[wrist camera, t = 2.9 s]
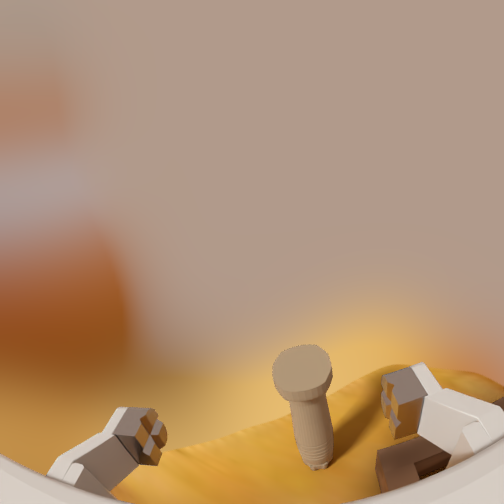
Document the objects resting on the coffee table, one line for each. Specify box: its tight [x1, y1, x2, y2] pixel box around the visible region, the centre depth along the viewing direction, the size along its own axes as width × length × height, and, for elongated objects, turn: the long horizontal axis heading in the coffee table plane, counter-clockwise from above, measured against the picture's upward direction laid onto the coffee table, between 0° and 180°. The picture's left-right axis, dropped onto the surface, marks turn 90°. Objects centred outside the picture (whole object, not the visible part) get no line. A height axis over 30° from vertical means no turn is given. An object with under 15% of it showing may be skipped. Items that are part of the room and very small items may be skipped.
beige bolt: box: [273, 345, 334, 471], centre depth 24 cm, size 5×6×15 cm
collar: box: [375, 397, 504, 494], centre depth 13 cm, size 16×16×4 cm
